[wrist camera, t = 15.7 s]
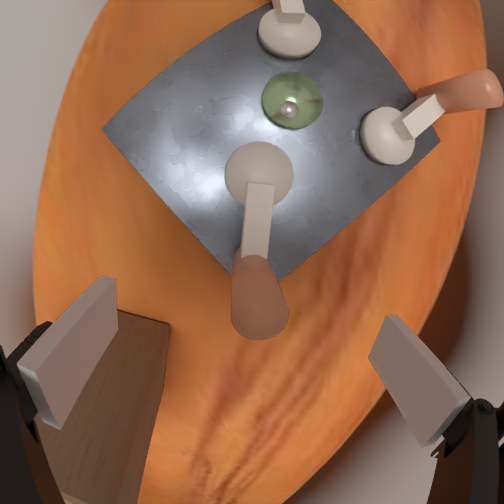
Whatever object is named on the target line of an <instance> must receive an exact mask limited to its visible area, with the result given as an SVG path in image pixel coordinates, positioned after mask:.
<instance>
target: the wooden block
mask: <svg viewBox="0 0 504 504" xmlns="http://www.w3.org/2000/svg"><path fill="white" fill-rule="evenodd" d="M117 318H118V331H117V332H116V334H115V335H114V337H113V339H112V340H111V342H110V344H109V345H108V347H107V348H106V350H105V352H104V353H103V355H102V357H101V358H100V360H99V362H98V363H97V365H96V367H95V368H94V370H93V372H92V374H91V375H90V377H89V379H88V381H87V382H86V384H85V386H84V388H83V389H82V391H81V393H80V395H79V397H78V398H77V400H76V402H75V404H74V406H73V408H72V410H71V411H70V413H69V415H68V417H67V419H66V421H65V423H64V425H63V427H62V429H61V430H59V429H57V428H55V427H53V426H50V425H48V424H46V423H44V422H43V421H42V419H41V417H40V415H39V413H38V412H37V414H36V416H35V417H34V420H35V422H36V425H37V428H38V432H39V436H40V439H41V442H42V445H43V449H44V452H45V455H46V458H47V460H48V463H49V466H50V469H51V471H52V474H53V476H54V479H55V481H56V484H57V486H58V488H59V491H60V493H61V495H62V497H63V499H64V501H65V504H137V501H138V496H139V491H140V486H141V481H142V476H143V472H144V467H145V462H146V458H147V454H148V449H149V445H150V441H151V437H152V433H153V428H154V424H155V420H156V416H157V413H158V409H159V405H160V401H161V397H162V393H163V387H164V377H165V367H166V358H167V350H168V342H169V335H170V328H169V325H167V324H165V323H161V322H157V321H154V320H150V319H146V318H142V317H139V316H135V315H132V314H128V313H125V312H121V311H118V310H117Z"/></svg>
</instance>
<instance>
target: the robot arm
mask: <svg viewBox="0 0 504 504" xmlns="http://www.w3.org/2000/svg"><path fill="white" fill-rule="evenodd" d="M117 331H118V318H117V299H116V279H114V278H109V277H104V276H101V277H100V278H99V279H98V280H97V281H95V282H94V283H93V284H92V285H91V286H90V287H89V288H88V289H87V290H86V291H85V292H84V293H83V294H82V295H81V296H80V297H79V298H78V299H77V300H76V301H75V302H74V303H73V304H72V305H71V306H70V307H69V308H68V309H67V310H66V311H65V312H64V313H63V314H62V315H61V316H60V317H59V318H58V319H57V320H56V321H55V322H54V323H52V322H49V321H47V322H45V323H43V324H41V325H39V326H37V327H36V328H35V329H34V330H33V331H32V332H31V333H30V335H28V336H27V337H26V338H25V340H24V341H22V342H21V343H20V345H19V346H18V347H17V348H16V349H15V350H14V351H13V352H12V353H11V354H10V355H9V356H8V358H7V359H6V357H5V355H4V352H3V349H2V346H1V345H0V504H65V501H64V499H63V497H62V495H61V493H60V491H59V488H58V486H57V484H56V481H55V479H54V476H53V474H52V471H51V469H50V466H49V463H48V460H47V458H46V455H45V452H44V449H43V445H42V442H41V439H40V436H39V432H38V428H37V425H36V422H35V420H34V417H35V416H36V414H37V412H38V413H39V415H40V417H41V419H42V421H43V422H44V423H46V424H48V425H50V426H53V427H55V428H57V429H59V430H61V429H62V427H63V425H64V423H65V421H66V419H67V417H68V415H69V413H70V411H71V410H72V408H73V406H74V404H75V402H76V400H77V398H78V397H79V395H80V393H81V391H82V389H83V388H84V386H85V384H86V382H87V381H88V379H89V377H90V375H91V374H92V372H93V370H94V368H95V367H96V365H97V363H98V362H99V360H100V358H101V357H102V355H103V353H104V352H105V350H106V348H107V347H108V345H109V344H110V342H111V340H112V339H113V337H114V335H115V334H116V332H117ZM368 359H369V360H370V362H371V364H372V365H373V367H374V368H375V370H376V372H377V373H378V375H379V376H380V378H381V380H382V381H383V383H384V385H385V386H386V388H387V390H388V391H389V393H390V395H391V396H392V398H393V400H394V401H395V403H396V404H397V406H398V408H399V410H400V411H401V413H402V415H403V417H404V418H405V420H406V421H407V423H408V425H409V427H410V429H411V430H412V432H413V434H414V435H415V437H416V439H417V441H418V443H419V444H420V446H421V448H423V447H426V446H429V445H432V444H434V443H435V442H436V441H437V440H438V439H439V437H440V436H441V435H443V437H444V438H445V439H444V440H443V441H442V442H441V443H440V444H439V446H438V447H437V448H436V449H435V450H434V451H433V452H432V453H431V456H433V455H434V454H435V453H436V452H439V454H438V455H436V457H435V458H438V460H437V465H436V470H435V474H434V478H433V482H432V486H431V490H430V494H429V497H428V502H427V504H504V443H503V444H502V445H501V446H500V447H499V445H498V442H499V441H500V440H501V439H502V438H503V436H504V402H503V403H502V405H501V406H500V407H499V408H494V407H493V405H492V404H491V403H489V402H488V401H487V400H484V399H476V400H474V399H473V398H472V397H471V396H470V394H469V393H468V392H467V391H466V390H465V388H464V387H463V386H462V385H461V384H460V382H458V380H457V379H456V378H455V377H454V376H453V374H452V373H451V372H450V371H449V370H448V368H446V367H445V366H444V365H443V364H442V363H441V362H440V361H439V360H438V358H437V357H436V356H435V355H434V354H433V353H432V352H431V351H430V350H429V349H428V347H427V346H426V345H425V344H424V343H423V342H422V341H421V340H420V339H419V338H418V337H417V335H416V334H415V333H414V332H413V331H412V330H411V329H410V328H409V327H408V326H407V325H406V324H405V323H404V322H403V321H402V320H401V319H400V317H399V316H398V315H386V317H385V319H384V322H383V324H382V326H381V329H380V331H379V334H378V336H377V338H376V341H375V343H374V345H373V347H372V350H371V352H370V354H369V356H368Z"/></svg>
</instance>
